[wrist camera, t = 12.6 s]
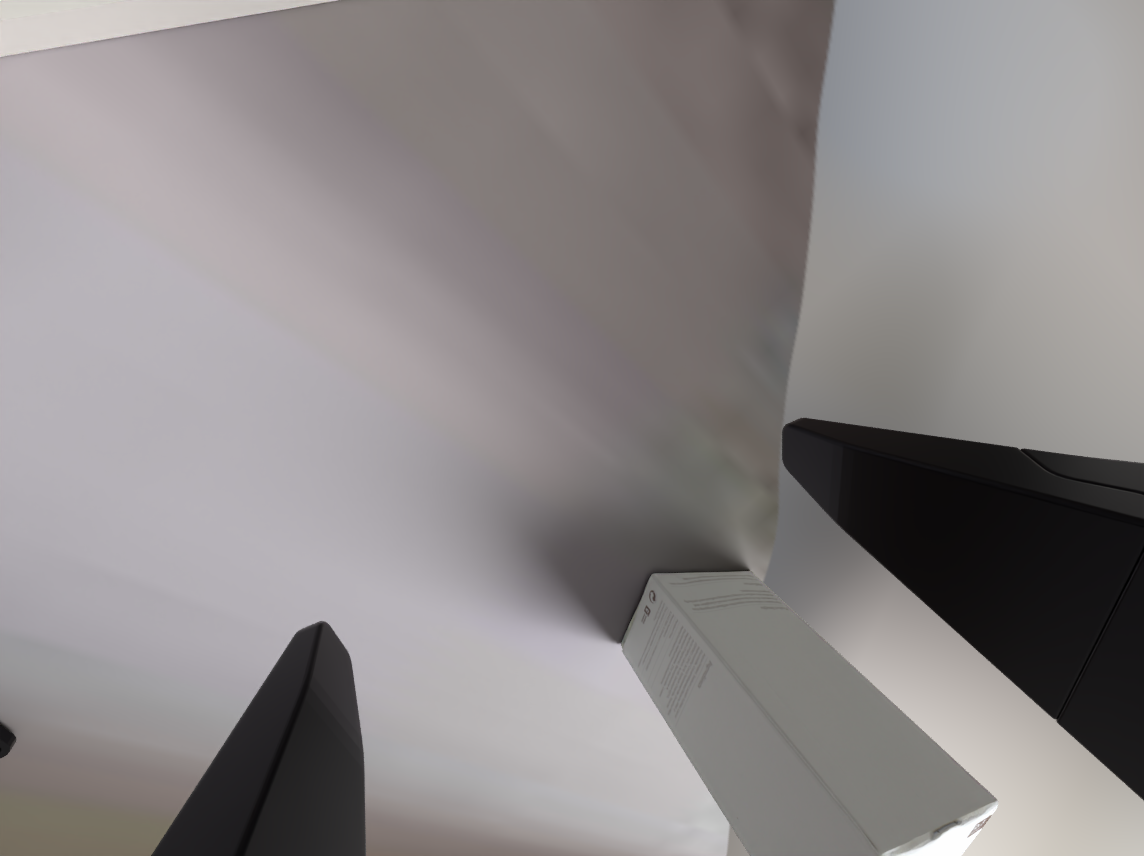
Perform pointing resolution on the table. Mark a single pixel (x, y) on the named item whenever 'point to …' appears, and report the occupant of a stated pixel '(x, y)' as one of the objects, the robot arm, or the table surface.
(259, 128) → the table surface
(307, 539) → the table surface
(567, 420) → the table surface
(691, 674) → the skincare box
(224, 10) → the sorting tray
